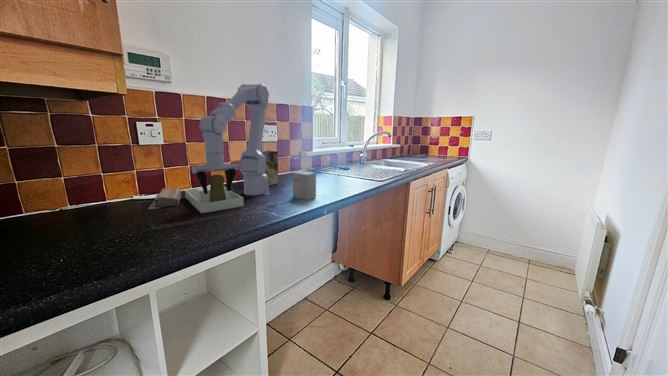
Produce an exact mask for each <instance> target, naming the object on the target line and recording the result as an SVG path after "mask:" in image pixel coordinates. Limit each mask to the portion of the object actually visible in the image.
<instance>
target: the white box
mask: <svg viewBox="0 0 668 376" xmlns="http://www.w3.org/2000/svg"><path fill="white" fill-rule="evenodd" d="M194 189H195V191H196V199H198V200H199V201H200V202H205V201H209V200H210V185H209V186H207V190H208V194H205V193H204V191H203V188H202V186H201V187H195V188H194Z"/></svg>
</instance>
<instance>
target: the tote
mask: <svg viewBox="0 0 668 376" xmlns="http://www.w3.org/2000/svg"><path fill="white" fill-rule="evenodd" d="M224 190H225V195H226V200H222V201H215V202H209V201H205V202H200V201H199V200H198V199H196V191H195V188H192V189H191V188H190V189H185V190H184V194H185V196H184V197H185V199H186V200H187V201H188V202H189V203H190V204H191V205H192V206H193V207H194V208H195V209H196V210H197V211H198V212H200V214H205V213H212V212H217V211H223V210H229V209H235V208H241V207H244V205H245V202H244V197H243V196H241V195H240V194H238V193H236V192H235V191H233V190H230V191H228V190H227V189H226V186H224Z"/></svg>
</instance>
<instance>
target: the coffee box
mask: <svg viewBox="0 0 668 376" xmlns="http://www.w3.org/2000/svg"><path fill="white" fill-rule="evenodd" d="M261 152H262V154H263V155H264V156H265V157H266V160H265V161H266V170H265V172H264V173H265V174H266V175H267V177H268V183H269V186H270V187H271V186H274V185H277V184H279V162H278V161H279V158H278V151H277V150H276V151H274V150H261ZM256 159H257V158H256Z"/></svg>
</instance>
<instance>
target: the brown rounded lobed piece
mask: <svg viewBox="0 0 668 376" xmlns="http://www.w3.org/2000/svg"><path fill="white" fill-rule="evenodd" d="M207 181H208V182H207V183H208V184H209V186H210V200H209V202H215V201H222V200H226V195H225V190H224V187H225V186H224V184H225V183H226V177H224V175H221V174H213V175H210V176H209V177H208V179H207Z"/></svg>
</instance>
